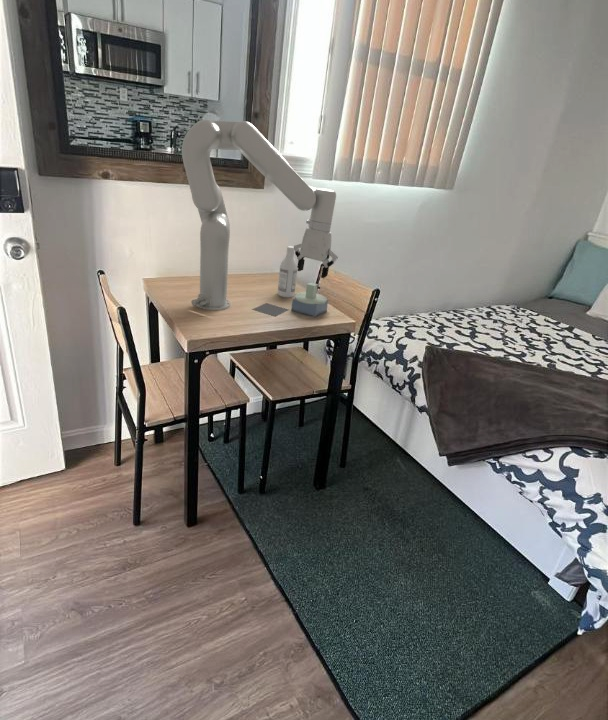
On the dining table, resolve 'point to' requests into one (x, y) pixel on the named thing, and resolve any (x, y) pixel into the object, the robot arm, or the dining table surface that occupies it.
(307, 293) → the lid
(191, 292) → the dining table surface
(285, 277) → the bath foam
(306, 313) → the dish
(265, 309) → the mat
